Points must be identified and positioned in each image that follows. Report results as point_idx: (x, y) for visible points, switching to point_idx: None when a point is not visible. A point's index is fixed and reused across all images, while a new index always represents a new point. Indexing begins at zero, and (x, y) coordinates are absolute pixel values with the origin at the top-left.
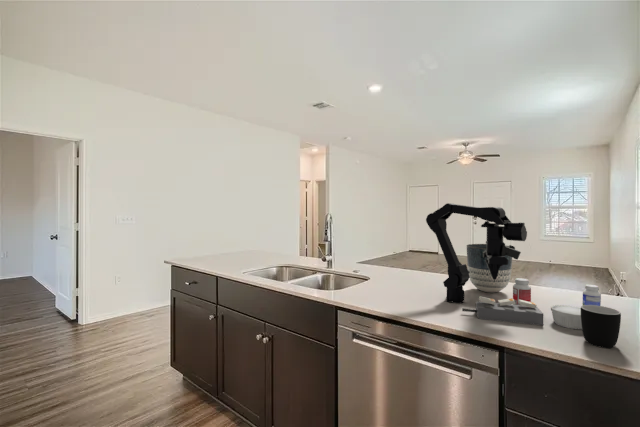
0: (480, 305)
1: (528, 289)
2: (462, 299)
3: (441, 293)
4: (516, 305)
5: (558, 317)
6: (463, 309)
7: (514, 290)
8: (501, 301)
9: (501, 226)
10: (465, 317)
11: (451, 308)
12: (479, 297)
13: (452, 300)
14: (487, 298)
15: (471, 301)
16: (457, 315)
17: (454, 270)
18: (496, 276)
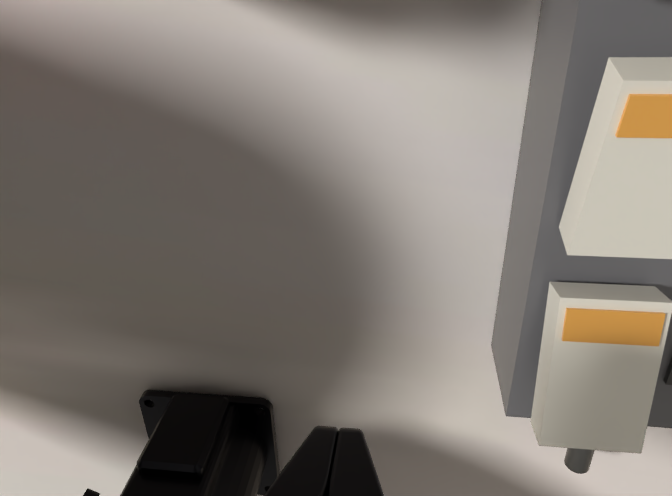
0: (661, 404)
1: None
2: (231, 416)
3: (49, 486)
4: (608, 7)
5: None
6: (590, 463)
7: None
8: (658, 232)
9: None
10: (665, 430)
11: (441, 478)
12: (558, 439)
13: (264, 467)
14: (577, 371)
15: (167, 330)
16: (619, 468)
17: None
18: (379, 488)
